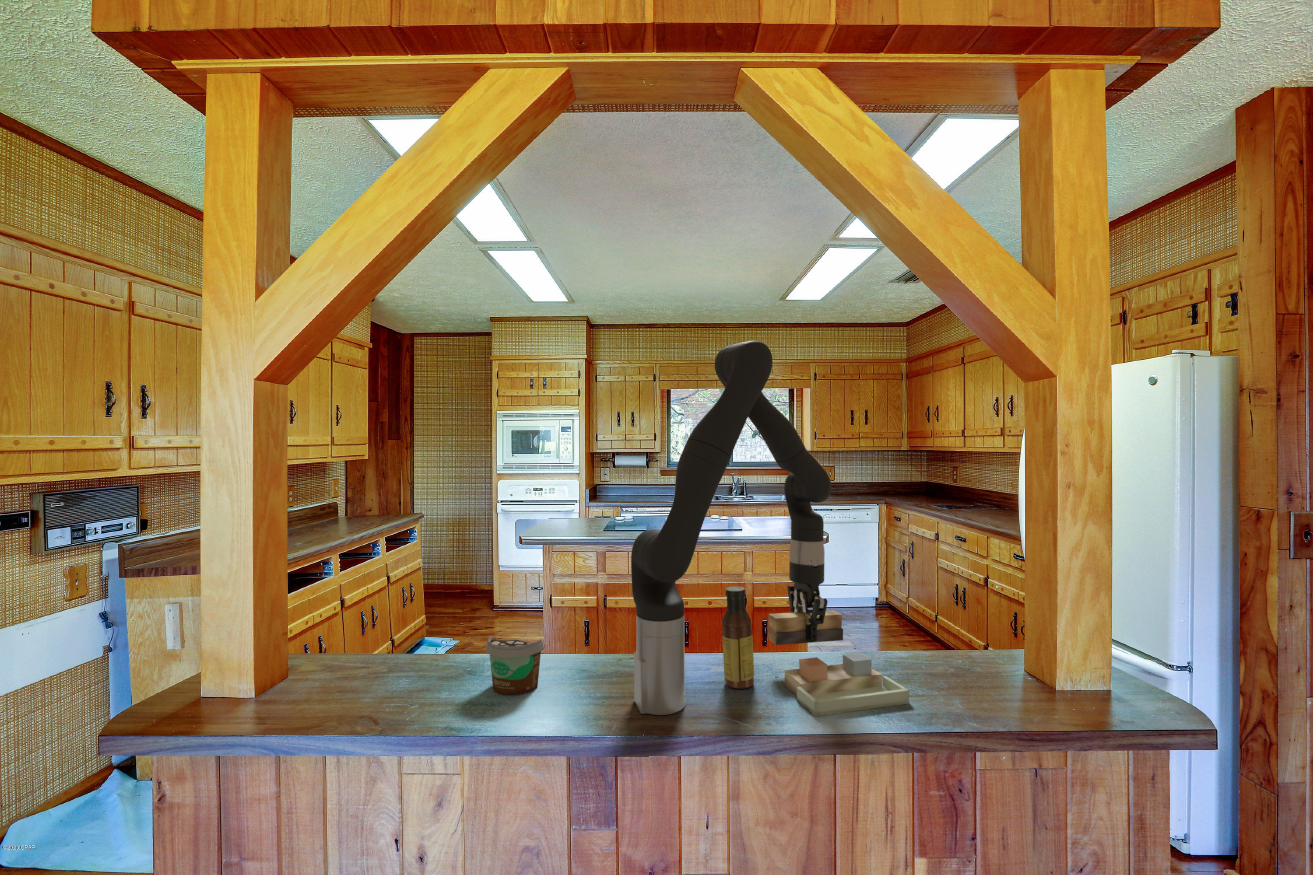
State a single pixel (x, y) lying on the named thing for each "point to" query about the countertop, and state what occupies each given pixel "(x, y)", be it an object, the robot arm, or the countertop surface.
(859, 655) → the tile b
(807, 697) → the tray
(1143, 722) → the countertop surface
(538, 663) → the food container
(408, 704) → the countertop surface
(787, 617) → the brown and black bar
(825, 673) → the salmon pink block
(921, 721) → the countertop surface
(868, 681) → the board
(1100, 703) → the countertop surface
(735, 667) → the sauce bottle
